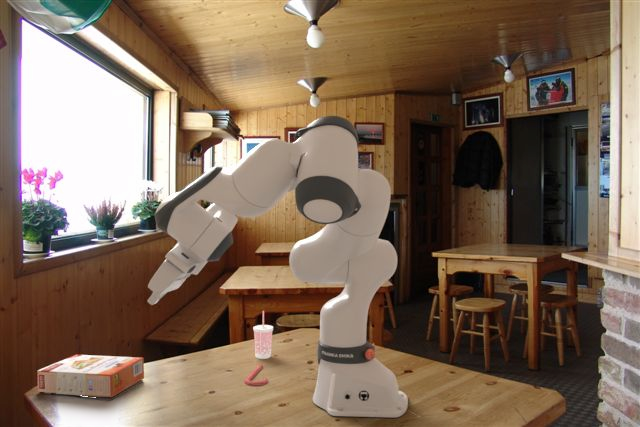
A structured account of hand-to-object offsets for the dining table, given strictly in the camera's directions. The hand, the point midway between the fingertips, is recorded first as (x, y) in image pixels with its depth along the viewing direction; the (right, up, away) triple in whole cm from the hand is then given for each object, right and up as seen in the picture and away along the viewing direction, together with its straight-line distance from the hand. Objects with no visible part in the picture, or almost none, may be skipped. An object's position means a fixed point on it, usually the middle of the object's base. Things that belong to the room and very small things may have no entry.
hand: (151, 302), depth 124 cm
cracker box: (-6, -18, +1) cm, 19 cm away
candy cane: (+25, -23, +12) cm, 36 cm away
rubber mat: (-11, -22, +2) cm, 24 cm away
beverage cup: (+24, -22, +29) cm, 44 cm away
